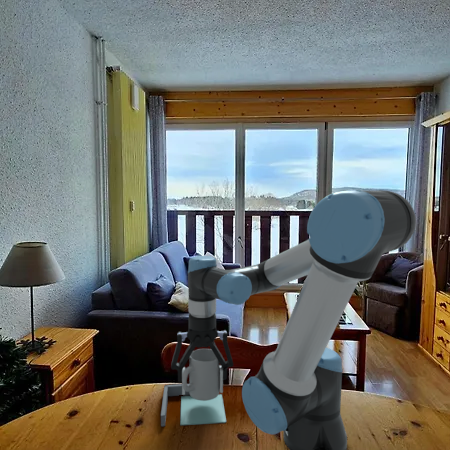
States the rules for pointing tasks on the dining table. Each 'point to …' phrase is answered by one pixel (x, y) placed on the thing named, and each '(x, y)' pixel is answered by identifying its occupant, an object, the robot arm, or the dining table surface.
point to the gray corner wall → (168, 391)
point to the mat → (202, 411)
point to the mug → (202, 375)
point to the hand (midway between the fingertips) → (202, 391)
